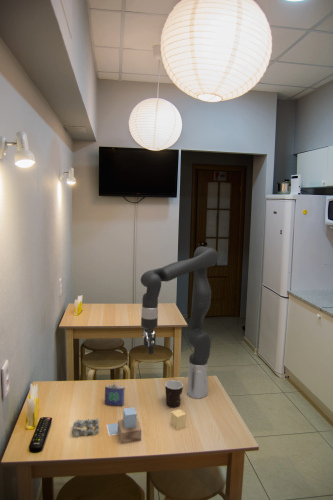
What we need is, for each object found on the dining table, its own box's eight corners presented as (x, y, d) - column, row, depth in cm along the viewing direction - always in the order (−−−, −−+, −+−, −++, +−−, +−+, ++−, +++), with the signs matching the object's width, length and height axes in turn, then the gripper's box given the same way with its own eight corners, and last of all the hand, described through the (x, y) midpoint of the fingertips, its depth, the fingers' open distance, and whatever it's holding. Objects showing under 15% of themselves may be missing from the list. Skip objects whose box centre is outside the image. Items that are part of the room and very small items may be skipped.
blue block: (133, 420, 148) (134, 407, 147) (135, 427, 144) (136, 413, 143) (122, 421, 147) (123, 408, 146) (124, 428, 143) (125, 415, 142)
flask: (124, 403, 170) (125, 382, 169) (123, 406, 167) (124, 385, 166) (105, 402, 171) (105, 381, 169) (103, 405, 168) (104, 384, 166)
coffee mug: (173, 397, 177) (173, 378, 176) (185, 404, 171) (186, 385, 170) (155, 405, 169) (156, 386, 168) (168, 413, 163) (169, 393, 162)
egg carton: (71, 438, 144) (71, 429, 143) (73, 427, 151) (73, 418, 151) (98, 436, 145) (98, 427, 145) (99, 425, 153) (99, 416, 152)
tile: (124, 422, 155) (124, 421, 155) (127, 433, 148) (127, 432, 148) (106, 425, 153) (106, 424, 153) (109, 435, 146) (109, 435, 146)
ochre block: (179, 421, 158) (180, 409, 157) (185, 427, 154) (185, 414, 153) (170, 424, 155) (171, 411, 155) (176, 430, 151) (177, 417, 151)
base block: (136, 427, 151) (136, 417, 150) (140, 441, 144) (141, 429, 143) (117, 430, 149) (118, 420, 148) (121, 444, 141) (121, 432, 140)
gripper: (161, 320, 157) (160, 355, 159) (153, 311, 170) (152, 343, 172) (145, 321, 155) (144, 357, 156) (138, 311, 168) (136, 344, 170)
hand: (148, 350), depth 164 cm, fingers open, 8 cm apart
